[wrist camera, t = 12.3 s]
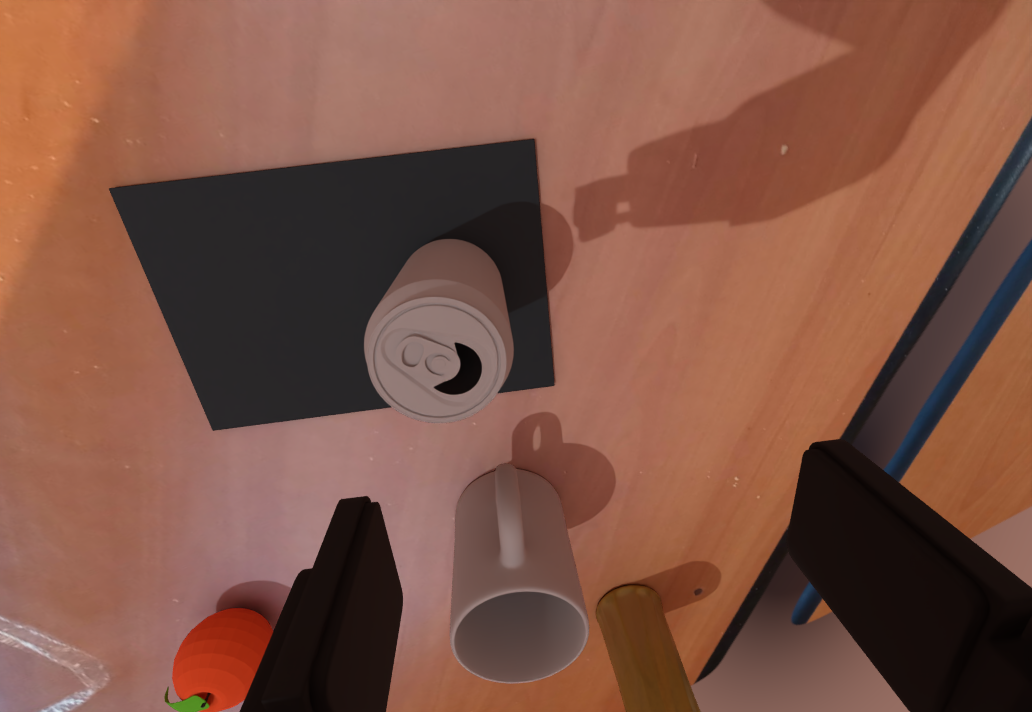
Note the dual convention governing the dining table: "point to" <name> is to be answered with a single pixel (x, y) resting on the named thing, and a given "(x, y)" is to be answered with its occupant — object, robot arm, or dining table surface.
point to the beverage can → (441, 334)
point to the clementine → (219, 660)
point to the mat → (328, 269)
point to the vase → (643, 652)
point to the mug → (514, 580)
